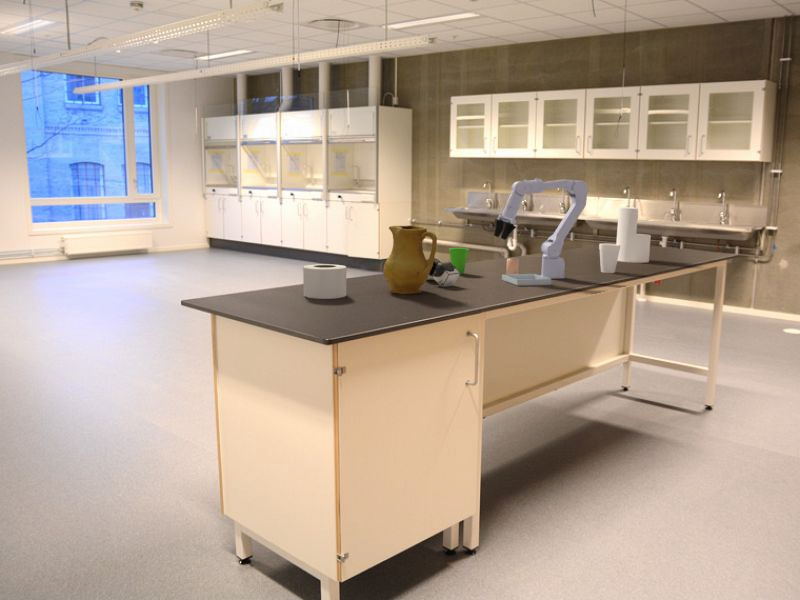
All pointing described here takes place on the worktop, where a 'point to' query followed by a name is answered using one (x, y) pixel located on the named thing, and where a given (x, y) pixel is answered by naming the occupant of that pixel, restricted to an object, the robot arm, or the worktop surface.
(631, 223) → the white l-shaped piece
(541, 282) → the tray
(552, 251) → the robot arm
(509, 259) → the tumbler
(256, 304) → the worktop surface
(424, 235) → the pitcher
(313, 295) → the white toilet paper roll
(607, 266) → the foam cup
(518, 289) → the worktop surface
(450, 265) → the black white sneaker
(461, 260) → the cup
